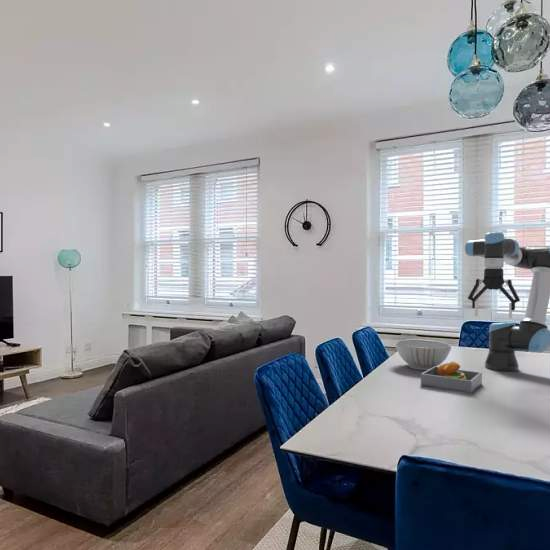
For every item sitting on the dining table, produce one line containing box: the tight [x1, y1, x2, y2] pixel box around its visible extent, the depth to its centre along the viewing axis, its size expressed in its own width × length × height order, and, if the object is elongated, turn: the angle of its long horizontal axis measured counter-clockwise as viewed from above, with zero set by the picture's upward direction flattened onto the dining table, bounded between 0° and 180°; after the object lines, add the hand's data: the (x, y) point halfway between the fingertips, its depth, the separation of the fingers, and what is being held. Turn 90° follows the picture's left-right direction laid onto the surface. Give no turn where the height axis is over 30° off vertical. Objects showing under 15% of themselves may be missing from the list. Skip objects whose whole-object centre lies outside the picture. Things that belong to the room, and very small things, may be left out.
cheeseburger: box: [437, 361, 467, 380], centre depth 188 cm, size 10×11×10 cm
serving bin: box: [420, 366, 483, 395], centre depth 188 cm, size 19×20×5 cm
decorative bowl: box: [395, 339, 452, 371], centre depth 222 cm, size 27×27×12 cm
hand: (492, 317), depth 193 cm, fingers open, 13 cm apart
